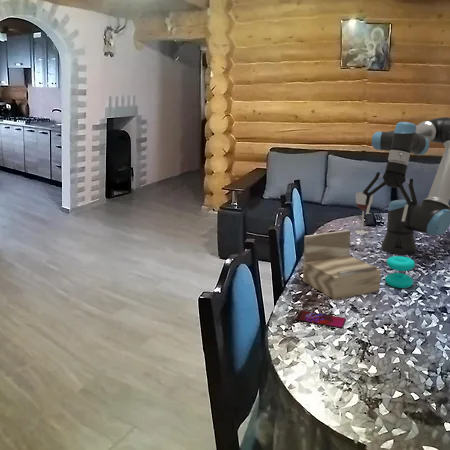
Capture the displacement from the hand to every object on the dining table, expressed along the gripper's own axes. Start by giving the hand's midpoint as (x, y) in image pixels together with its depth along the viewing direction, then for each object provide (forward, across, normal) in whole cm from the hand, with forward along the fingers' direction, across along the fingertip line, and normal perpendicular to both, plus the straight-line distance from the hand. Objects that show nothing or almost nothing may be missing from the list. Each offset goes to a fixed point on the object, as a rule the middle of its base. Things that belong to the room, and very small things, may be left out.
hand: (384, 217), depth 201 cm
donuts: (+24, +10, -4) cm, 26 cm away
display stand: (+28, -12, -9) cm, 32 cm away
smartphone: (+37, -18, -40) cm, 57 cm away
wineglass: (+9, 0, +69) cm, 70 cm away
